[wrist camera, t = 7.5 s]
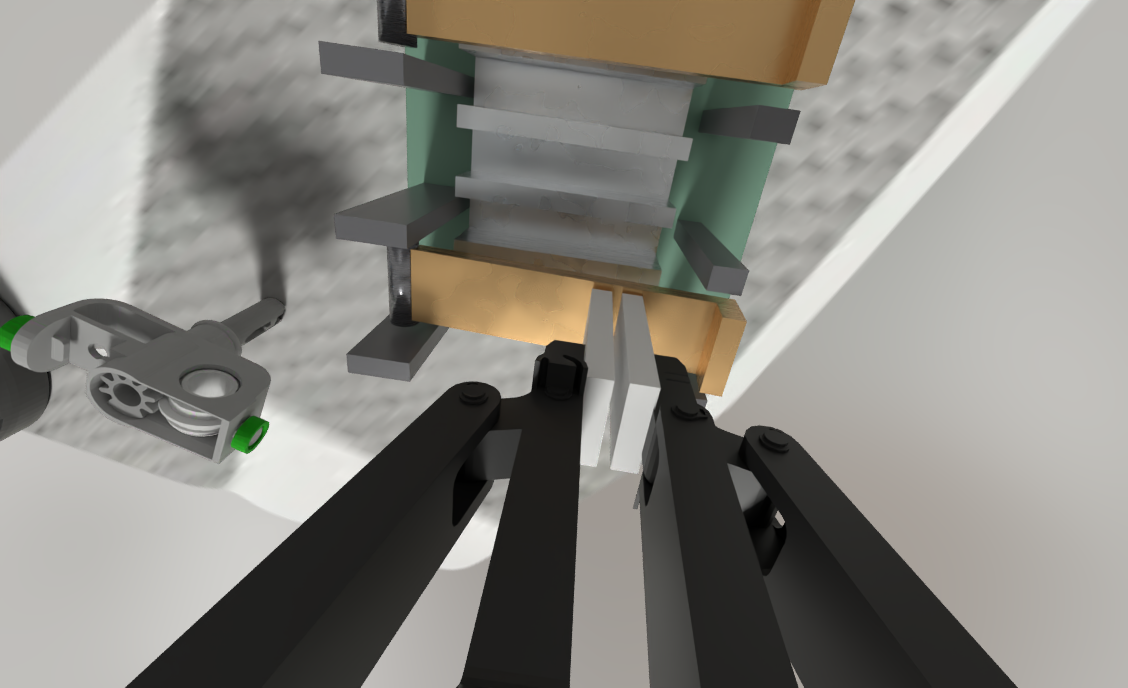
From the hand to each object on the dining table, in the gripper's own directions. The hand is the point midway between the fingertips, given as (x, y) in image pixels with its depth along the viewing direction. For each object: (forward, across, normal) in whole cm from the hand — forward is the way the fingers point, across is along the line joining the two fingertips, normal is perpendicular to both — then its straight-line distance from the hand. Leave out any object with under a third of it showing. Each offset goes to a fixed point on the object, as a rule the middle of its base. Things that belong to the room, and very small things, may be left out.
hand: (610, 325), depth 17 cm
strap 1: (+1, -2, +10) cm, 10 cm away
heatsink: (+7, -3, +5) cm, 9 cm away
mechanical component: (+9, -20, -6) cm, 22 cm away
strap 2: (+1, -2, 0) cm, 3 cm away
